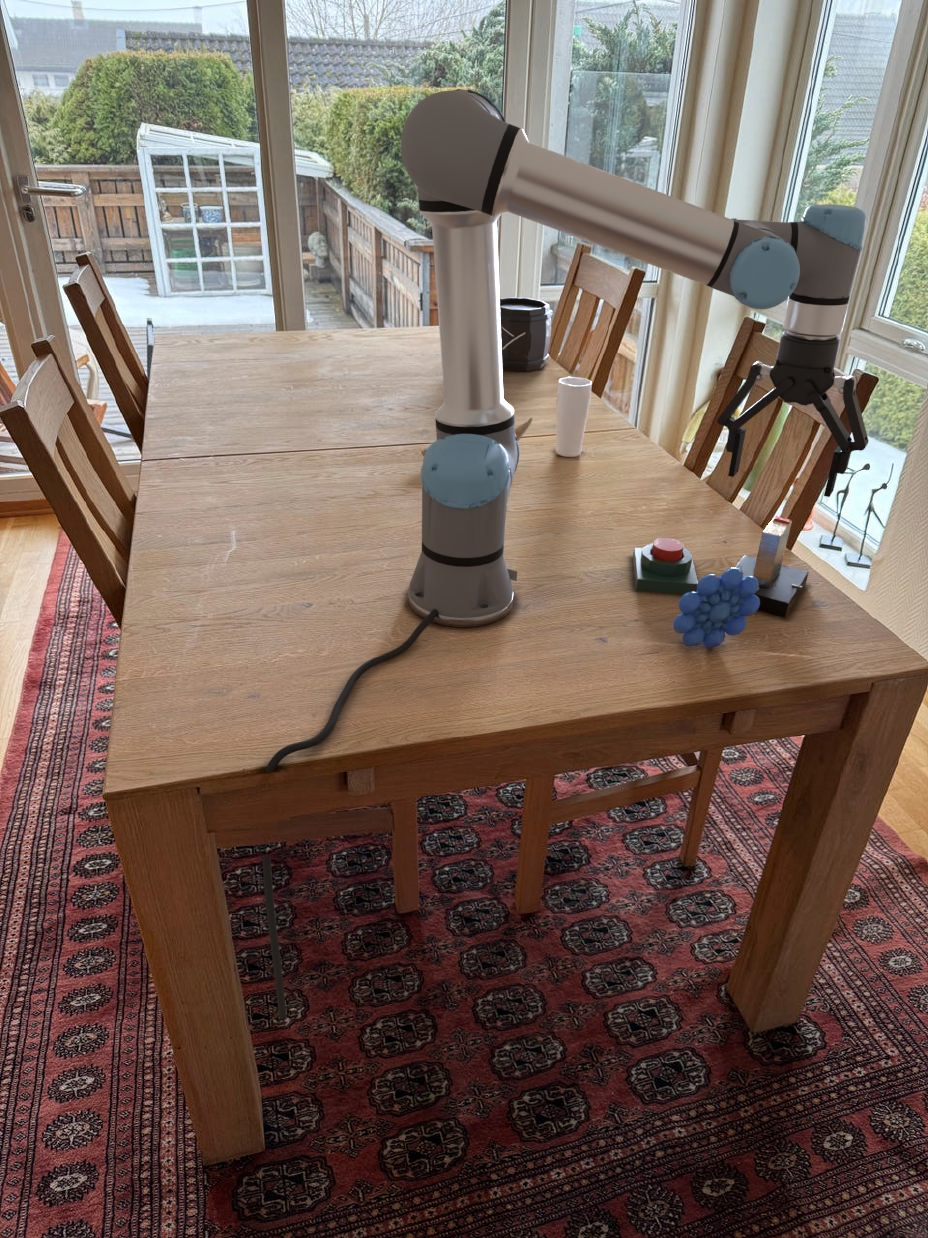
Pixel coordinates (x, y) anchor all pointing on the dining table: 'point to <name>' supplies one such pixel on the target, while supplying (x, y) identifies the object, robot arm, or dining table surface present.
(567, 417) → the drinking glass
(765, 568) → the silver rectangular block
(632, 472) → the dining table surface
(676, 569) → the button housing
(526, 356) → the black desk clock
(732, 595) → the blue flower
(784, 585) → the black stand base
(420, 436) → the dining table surface
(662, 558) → the button
